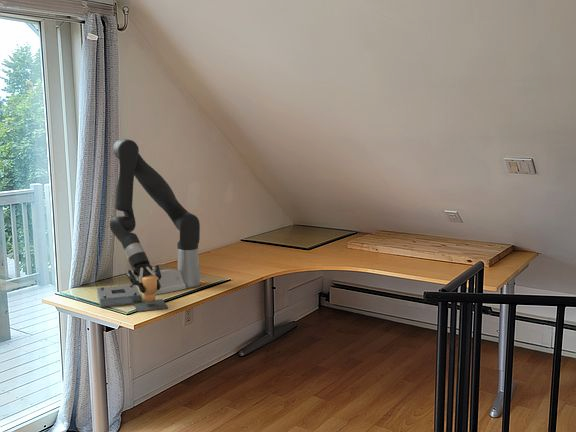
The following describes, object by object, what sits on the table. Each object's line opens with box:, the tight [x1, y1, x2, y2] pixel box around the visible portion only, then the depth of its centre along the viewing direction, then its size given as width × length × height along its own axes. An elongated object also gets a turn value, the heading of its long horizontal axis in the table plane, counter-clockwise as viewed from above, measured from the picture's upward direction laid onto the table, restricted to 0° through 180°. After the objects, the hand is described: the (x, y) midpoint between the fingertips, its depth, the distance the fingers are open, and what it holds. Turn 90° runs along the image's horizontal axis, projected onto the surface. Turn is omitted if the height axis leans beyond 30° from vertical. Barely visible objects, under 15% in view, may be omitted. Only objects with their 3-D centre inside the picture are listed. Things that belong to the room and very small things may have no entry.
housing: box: [96, 283, 142, 308], centre depth 254 cm, size 16×16×4 cm
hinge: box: [155, 269, 187, 296], centre depth 267 cm, size 17×5×10 cm, turn 127°
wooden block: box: [141, 275, 157, 303], centre depth 245 cm, size 6×6×10 cm
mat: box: [133, 298, 169, 313], centre depth 247 cm, size 12×12×1 cm
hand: (151, 290), depth 244 cm, fingers closed on wooden block, 6 cm apart
